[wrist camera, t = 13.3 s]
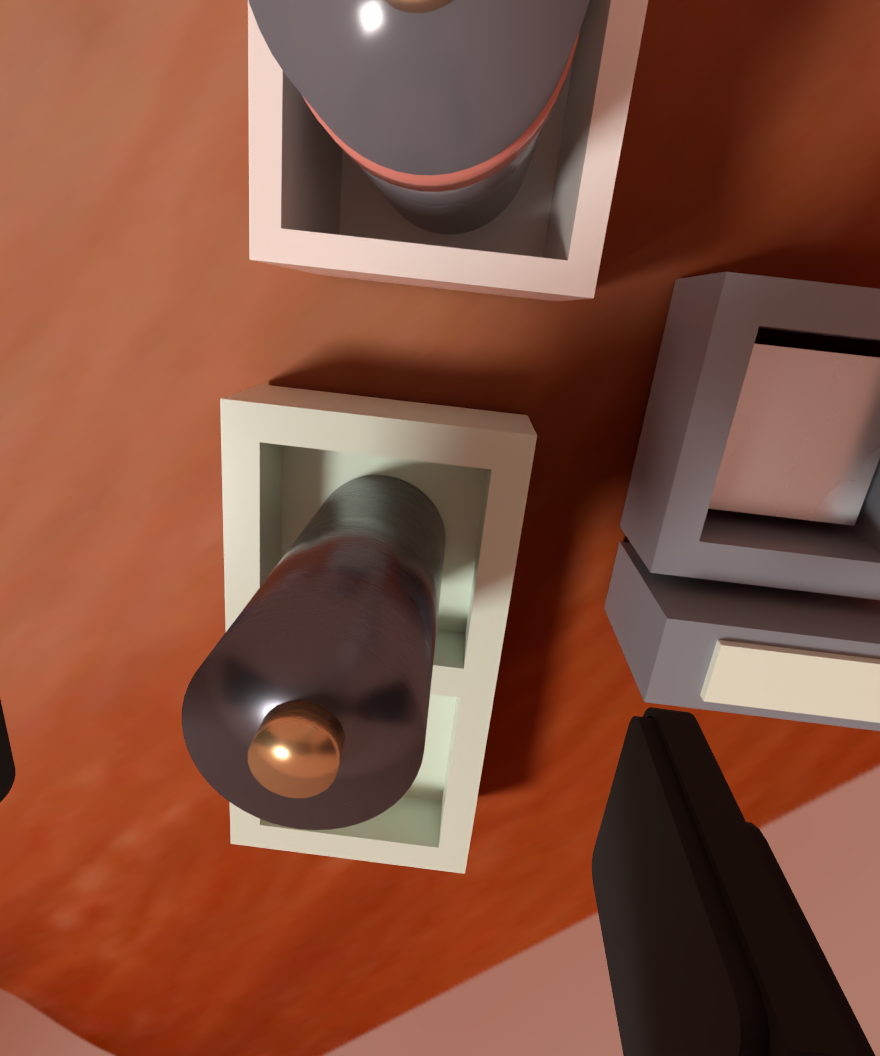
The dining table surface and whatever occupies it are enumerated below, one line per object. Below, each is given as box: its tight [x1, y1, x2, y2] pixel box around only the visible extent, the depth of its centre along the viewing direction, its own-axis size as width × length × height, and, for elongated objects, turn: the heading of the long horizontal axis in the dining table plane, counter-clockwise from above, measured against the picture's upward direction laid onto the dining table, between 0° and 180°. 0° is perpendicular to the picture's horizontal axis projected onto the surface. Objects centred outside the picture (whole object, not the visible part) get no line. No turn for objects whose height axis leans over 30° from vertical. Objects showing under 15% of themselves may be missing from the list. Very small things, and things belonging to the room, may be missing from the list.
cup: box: [248, 0, 648, 301], centre depth 11 cm, size 7×7×10 cm
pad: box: [708, 343, 880, 526], centre depth 16 cm, size 4×4×2 cm
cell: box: [182, 475, 446, 830], centre depth 14 cm, size 4×4×10 cm
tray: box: [220, 384, 537, 874], centre depth 19 cm, size 15×8×3 cm, turn 174°
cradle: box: [604, 272, 880, 731], centre depth 15 cm, size 10×7×5 cm
